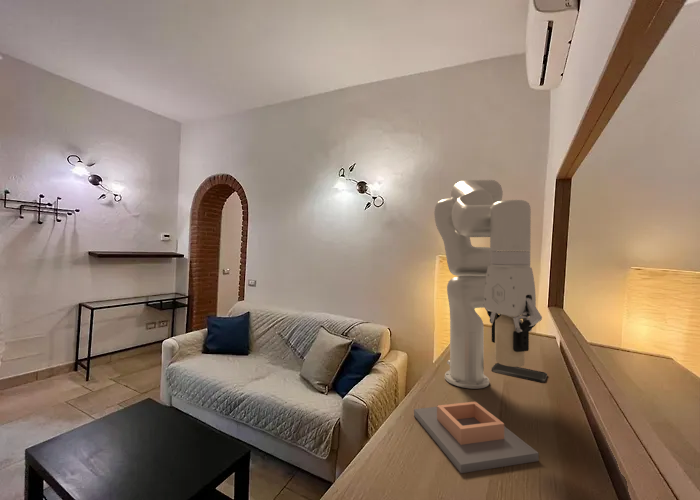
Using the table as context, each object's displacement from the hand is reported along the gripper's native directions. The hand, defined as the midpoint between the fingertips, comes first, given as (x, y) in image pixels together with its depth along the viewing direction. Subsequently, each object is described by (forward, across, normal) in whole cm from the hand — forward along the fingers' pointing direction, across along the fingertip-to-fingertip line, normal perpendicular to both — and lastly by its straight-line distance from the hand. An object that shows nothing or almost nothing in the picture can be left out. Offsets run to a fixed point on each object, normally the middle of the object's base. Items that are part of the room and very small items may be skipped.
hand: (509, 345), depth 66 cm
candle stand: (+19, -3, -8) cm, 21 cm away
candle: (+4, 0, 0) cm, 4 cm away
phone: (+20, -29, +29) cm, 46 cm away
